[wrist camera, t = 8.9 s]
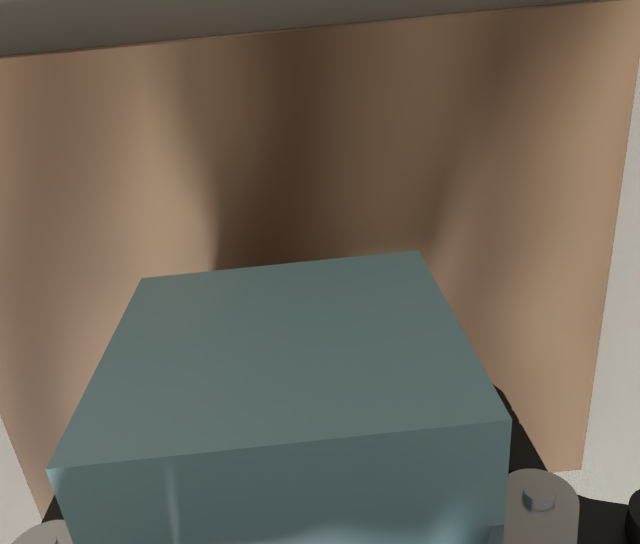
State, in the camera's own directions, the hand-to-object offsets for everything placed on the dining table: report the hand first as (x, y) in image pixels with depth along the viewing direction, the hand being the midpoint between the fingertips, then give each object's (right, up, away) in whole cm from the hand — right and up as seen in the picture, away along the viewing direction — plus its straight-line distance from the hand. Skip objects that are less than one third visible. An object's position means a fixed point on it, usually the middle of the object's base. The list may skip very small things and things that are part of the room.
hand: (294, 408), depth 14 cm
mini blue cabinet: (0, +1, +1) cm, 1 cm away
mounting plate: (0, +3, +6) cm, 6 cm away
